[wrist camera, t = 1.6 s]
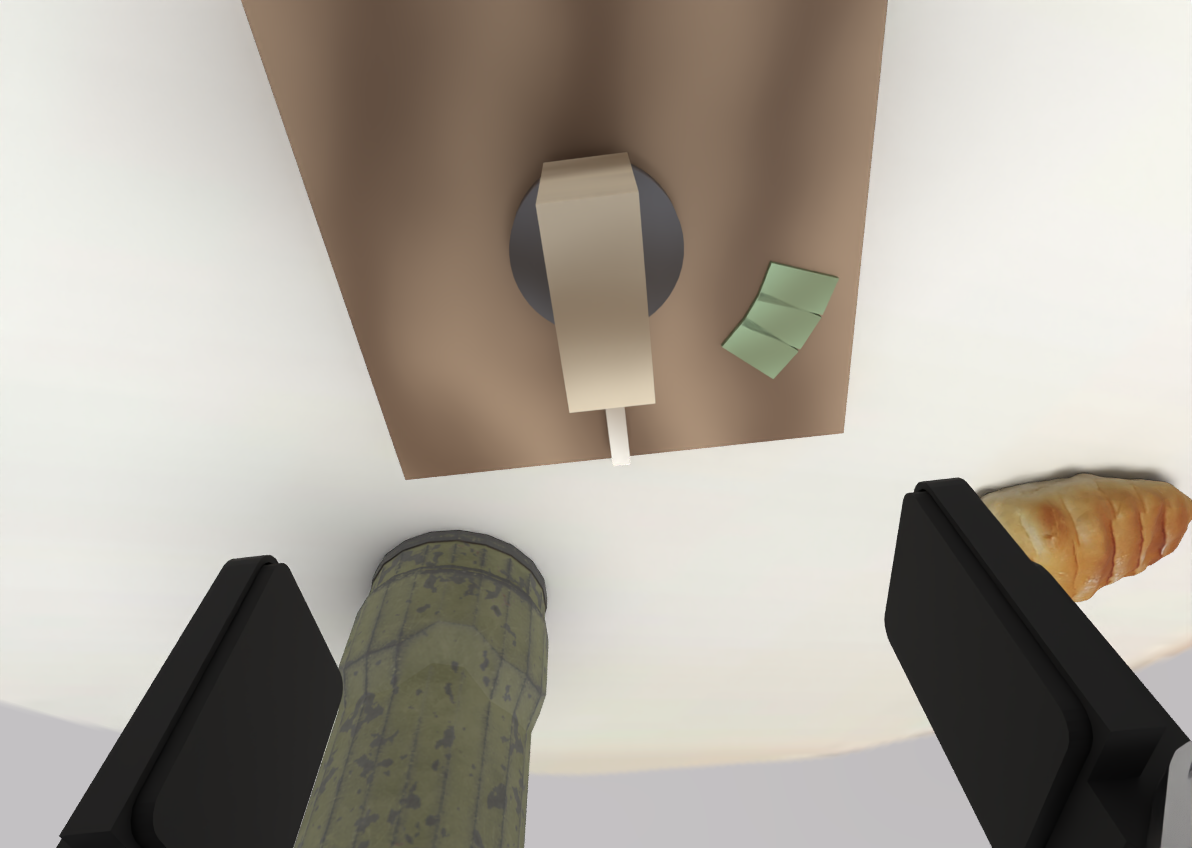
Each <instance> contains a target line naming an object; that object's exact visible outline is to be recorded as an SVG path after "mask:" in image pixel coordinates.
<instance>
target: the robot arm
mask: <svg viewBox="0 0 1192 848" xmlns="http://www.w3.org/2000/svg"><path fill="white" fill-rule="evenodd" d="M884 621H885V629H886V633H887V636H888V639H889V642H890V644H891V646H892V648H893V650H894V652H895V654H896V656H897V658H898V660H899V662H900V664H901V666H902V668H903V670H904V672H905V674H906V676H907V678H908V680H909V682H910V684H911V686H912V688H913V690H914V692H915V694H916V696H917V698H918V700H919V702H920V704H921V706H922V708H923V710H924V712H925V714H926V716H927V718H928V720H929V722H930V724H931V726H932V728H933V730H934V732H935V734H936V736H937V738H938V740H939V742H940V744H941V746H942V748H943V750H944V752H945V754H946V756H947V758H948V760H949V762H950V764H951V766H952V768H953V770H954V772H955V774H956V776H957V778H958V780H959V782H960V784H961V786H962V788H963V790H964V792H965V794H966V796H967V798H968V800H969V802H970V804H971V806H972V808H973V810H974V812H975V814H976V816H977V818H978V820H979V822H980V824H981V826H982V828H983V830H984V832H985V834H986V836H987V838H988V840H989V842H990V844H991V846H992V848H1192V741H1191V740H1190V739H1189V738H1188V737H1187V736H1186V735H1185V733H1184V732H1183V731H1182V730H1181V729H1180V727H1179V726H1178V725H1177V724H1176V723H1175V721H1174V720H1173V719H1172V718H1171V717H1170V715H1169V714H1168V713H1167V712H1166V711H1165V709H1164V708H1163V707H1162V706H1161V705H1160V704H1159V702H1158V701H1157V700H1156V699H1155V698H1154V696H1153V695H1152V694H1151V693H1150V692H1149V691H1148V689H1147V688H1146V687H1145V686H1144V684H1143V683H1142V682H1141V681H1140V680H1139V678H1138V677H1137V676H1136V675H1135V674H1134V672H1133V671H1132V670H1131V669H1130V668H1129V666H1128V665H1127V664H1126V663H1125V662H1124V661H1123V659H1122V658H1121V657H1120V656H1119V655H1118V653H1117V652H1116V651H1115V650H1114V649H1113V647H1112V646H1111V645H1110V644H1109V643H1108V641H1107V640H1106V639H1105V638H1104V637H1103V635H1102V634H1101V633H1100V632H1099V631H1098V630H1097V628H1096V627H1095V626H1094V625H1093V624H1092V622H1091V621H1090V620H1089V619H1088V618H1087V616H1086V615H1085V614H1084V613H1083V612H1082V610H1081V609H1080V608H1079V607H1078V606H1077V604H1076V603H1075V602H1074V601H1073V600H1072V599H1071V597H1070V596H1069V595H1068V594H1067V593H1066V591H1065V590H1064V589H1063V588H1062V587H1061V585H1060V584H1059V583H1058V582H1057V581H1056V579H1055V578H1054V577H1053V576H1052V575H1051V574H1050V573H1049V572H1048V571H1047V570H1046V569H1045V568H1044V567H1043V566H1042V565H1040V564H1038V563H1036V562H1034V561H1031V560H1030V558H1029V557H1028V556H1027V555H1026V554H1025V552H1024V551H1023V550H1022V549H1021V547H1020V546H1019V545H1018V544H1017V543H1016V541H1015V540H1014V539H1013V538H1012V537H1011V535H1010V534H1009V533H1008V532H1007V530H1006V529H1005V528H1004V527H1003V526H1002V524H1001V523H1000V522H999V521H998V520H997V518H996V517H995V516H994V515H993V513H992V512H991V511H990V510H989V509H988V507H987V506H986V505H985V504H984V503H983V501H982V500H981V499H980V498H979V496H978V495H977V494H976V493H975V492H974V490H973V489H972V488H971V487H970V486H969V484H968V483H967V482H966V481H965V480H963V479H961V478H950V479H941V480H932V481H923V482H919V483H918V484H917V485H916V487H915V490H914V492H913V493H907V494H906V495H905V496H904V499H903V504H902V510H901V517H900V523H899V529H898V535H897V542H896V548H895V554H894V560H893V567H892V573H891V579H890V586H889V592H888V598H887V604H886V611H885V619H884ZM342 694H343V680H342V676H341V673H340V671H339V669H338V667H337V665H336V663H335V661H334V659H333V657H332V655H331V653H330V650H329V648H328V646H327V644H326V642H325V640H324V638H323V636H322V634H321V632H320V630H319V628H318V626H317V624H316V622H315V620H314V618H313V616H312V614H311V612H310V610H309V608H308V606H307V603H306V601H305V599H304V597H303V595H302V593H301V591H300V589H299V587H298V585H297V583H296V581H295V579H294V577H293V575H292V573H291V571H290V569H289V567H288V566H287V565H286V564H284V563H278V562H277V560H276V559H275V558H274V557H273V556H271V555H263V556H255V557H246V558H237V559H231V560H229V561H228V562H227V563H226V564H225V565H224V566H223V568H222V569H221V571H220V573H219V574H218V576H217V578H216V579H215V581H214V583H213V584H212V586H211V587H210V589H209V591H208V592H207V594H206V596H205V597H204V599H203V601H202V602H201V604H200V606H199V607H198V609H197V610H196V612H195V614H194V615H193V617H192V619H191V620H190V622H189V624H188V625H187V627H186V628H185V630H184V632H183V633H182V635H181V637H180V638H179V640H178V642H177V643H176V645H175V647H174V648H173V650H172V651H171V653H170V655H169V656H168V658H167V660H166V661H165V663H164V665H163V666H162V668H161V670H160V671H159V673H158V674H157V676H156V678H155V679H154V681H153V683H152V684H151V686H150V688H149V689H148V691H147V693H146V694H145V696H144V697H143V699H142V701H141V702H140V704H139V706H138V707H137V709H136V711H135V712H134V714H133V715H132V717H131V719H130V720H129V722H128V724H127V725H126V727H125V729H124V730H123V732H122V734H121V735H120V737H119V738H118V740H117V742H116V743H115V745H114V747H113V749H112V750H111V752H110V753H109V755H108V757H107V758H106V760H105V762H104V763H103V765H102V766H101V768H100V770H99V772H98V773H97V775H96V776H95V778H94V780H93V781H92V783H91V784H90V786H89V788H88V790H87V791H86V793H85V794H84V796H83V798H82V799H81V801H80V802H79V804H78V806H77V807H76V809H75V811H74V813H73V814H72V816H71V817H70V819H69V821H68V822H67V824H66V826H65V827H64V829H63V830H62V832H61V834H60V835H59V836H60V837H61V838H62V839H61V841H60V843H59V844H58V846H57V847H56V848H293V847H294V844H295V841H296V838H297V835H298V832H299V828H300V825H301V822H302V819H303V816H304V813H305V810H306V807H307V804H308V801H309V798H310V795H311V791H312V788H313V785H314V782H315V779H316V776H317V773H318V770H319V767H320V764H321V761H322V758H323V755H324V751H325V748H326V745H327V742H328V739H329V736H330V733H331V730H332V727H333V724H334V721H335V718H336V715H337V711H338V708H339V705H340V702H341V699H342Z"/></svg>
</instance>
